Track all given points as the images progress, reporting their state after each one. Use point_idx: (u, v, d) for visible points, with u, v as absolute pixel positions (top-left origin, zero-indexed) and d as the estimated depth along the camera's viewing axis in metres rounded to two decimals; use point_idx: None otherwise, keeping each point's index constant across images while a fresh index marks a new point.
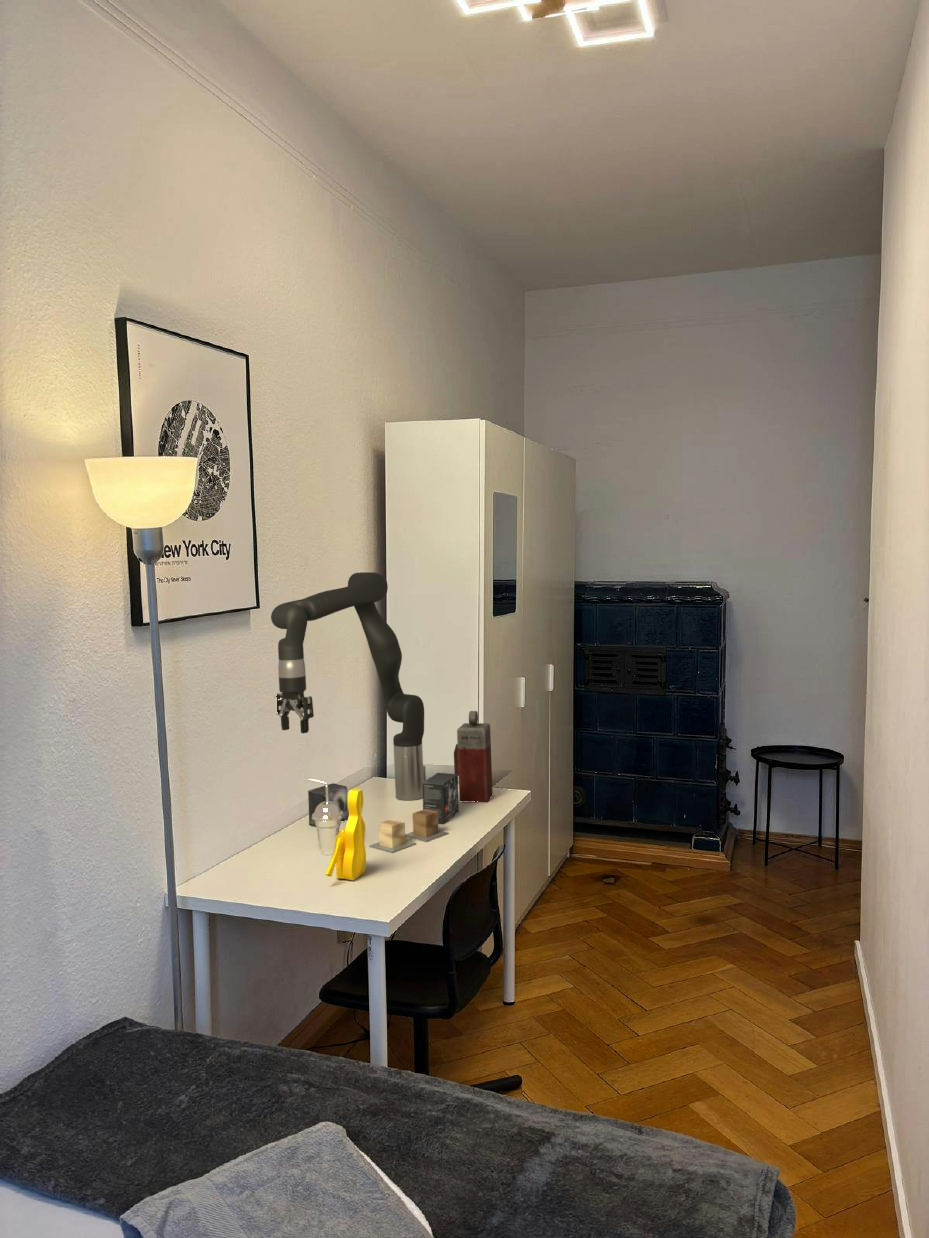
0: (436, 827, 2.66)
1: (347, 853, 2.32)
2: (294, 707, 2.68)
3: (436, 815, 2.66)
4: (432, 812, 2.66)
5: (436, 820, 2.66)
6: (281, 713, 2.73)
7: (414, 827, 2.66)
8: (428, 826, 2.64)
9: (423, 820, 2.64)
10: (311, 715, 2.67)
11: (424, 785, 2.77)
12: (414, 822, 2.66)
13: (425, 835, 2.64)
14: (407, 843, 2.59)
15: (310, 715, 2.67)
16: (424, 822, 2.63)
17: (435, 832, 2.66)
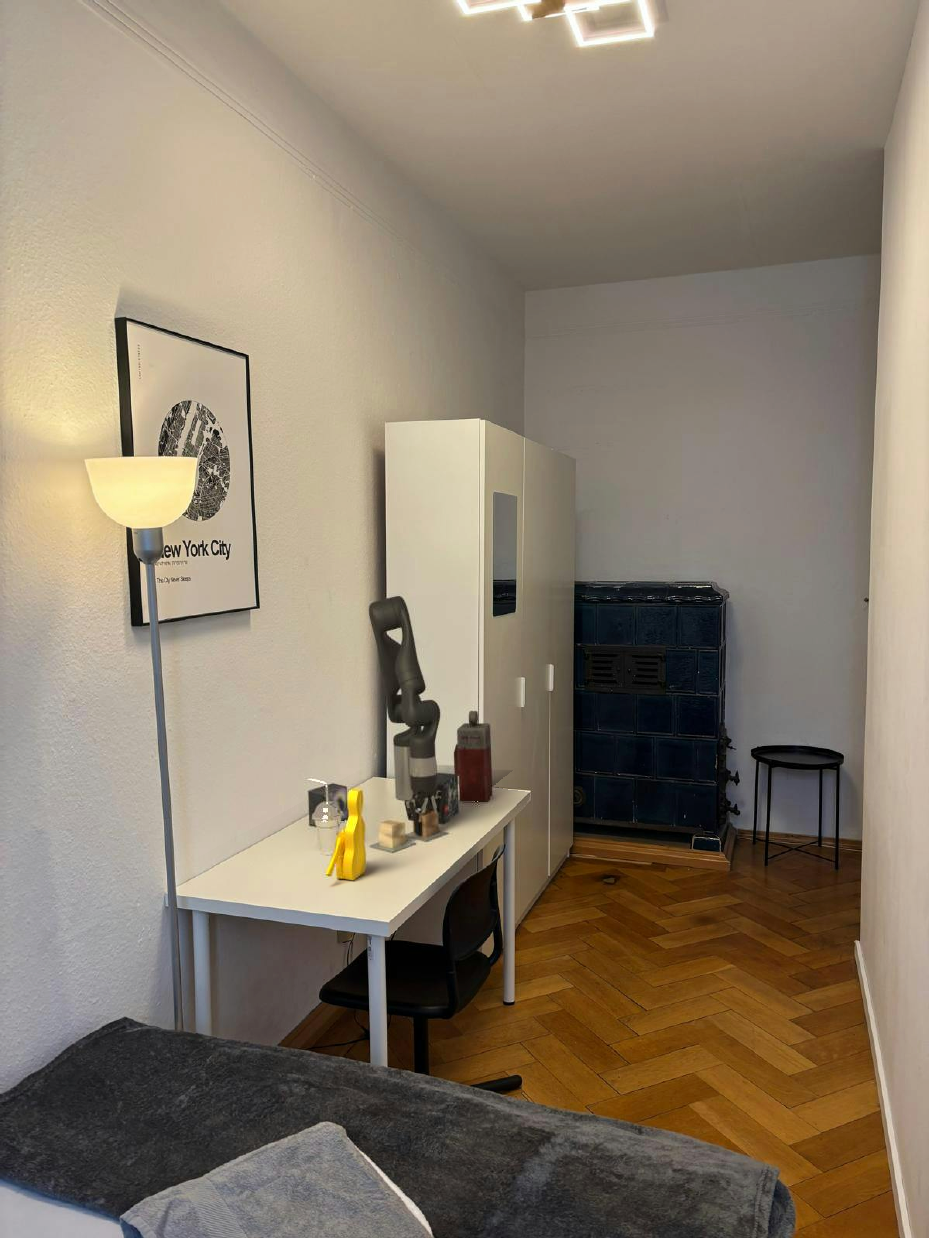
0: (436, 827, 2.66)
1: (347, 853, 2.32)
2: (434, 803, 2.67)
3: (436, 815, 2.66)
4: (432, 812, 2.66)
5: (436, 820, 2.66)
6: (421, 817, 2.64)
7: None
8: (428, 825, 2.64)
9: (423, 820, 2.64)
10: None
11: None
12: None
13: (425, 835, 2.64)
14: (407, 843, 2.59)
15: None
16: (424, 822, 2.63)
17: (435, 832, 2.66)
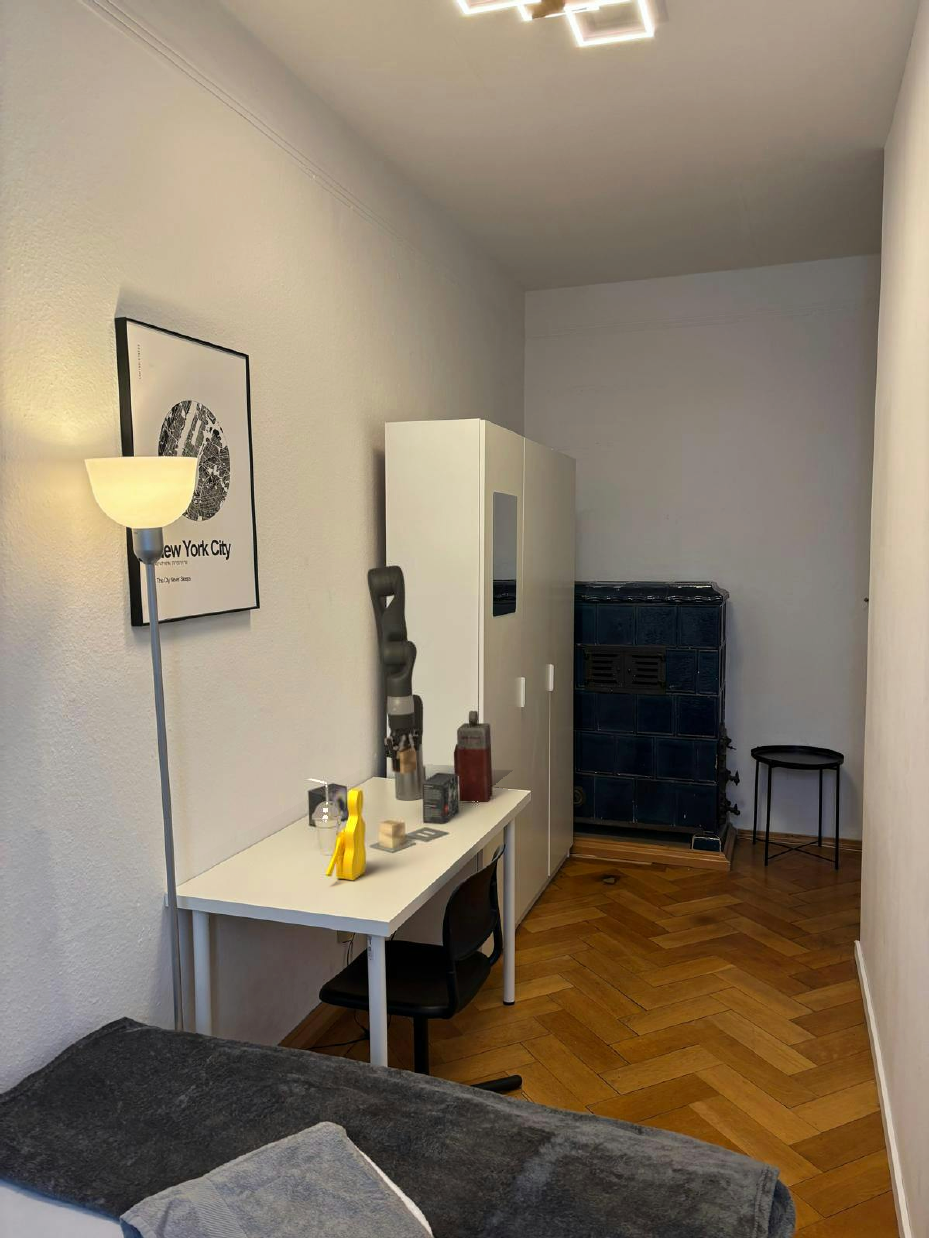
0: (414, 764, 2.74)
1: (347, 853, 2.32)
2: (411, 741, 2.74)
3: (413, 752, 2.74)
4: (410, 750, 2.74)
5: (413, 757, 2.74)
6: (399, 754, 2.71)
7: None
8: (406, 762, 2.72)
9: (401, 757, 2.71)
10: None
11: (424, 785, 2.77)
12: None
13: (403, 771, 2.71)
14: (407, 843, 2.59)
15: None
16: (402, 759, 2.71)
17: (413, 769, 2.74)
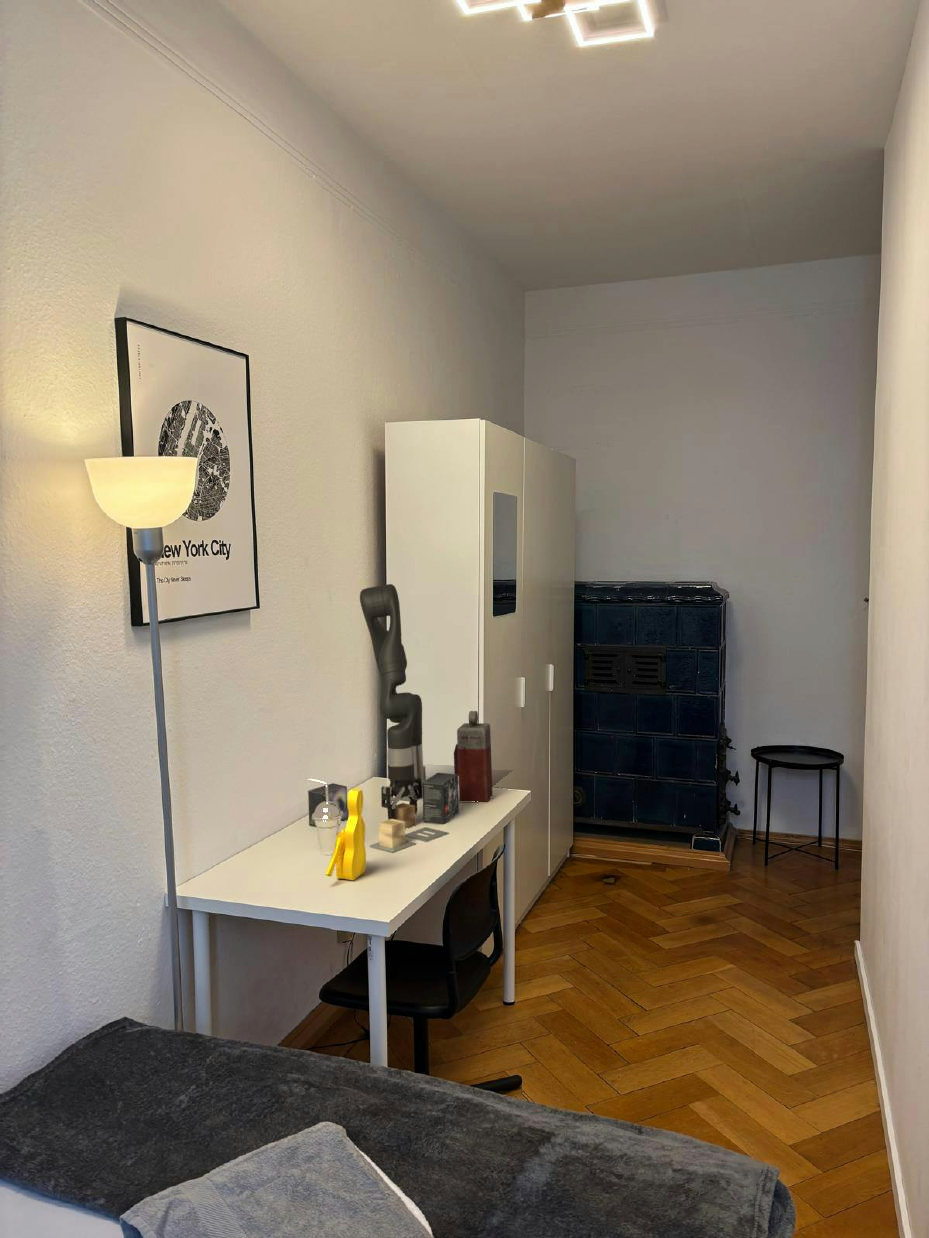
0: (413, 820, 2.75)
1: (347, 853, 2.32)
2: (412, 791, 2.76)
3: (413, 808, 2.75)
4: (409, 806, 2.75)
5: (413, 813, 2.75)
6: (394, 804, 2.71)
7: None
8: (405, 819, 2.73)
9: (401, 814, 2.72)
10: None
11: (424, 785, 2.77)
12: None
13: None
14: (407, 843, 2.59)
15: None
16: (401, 815, 2.72)
17: (412, 825, 2.75)
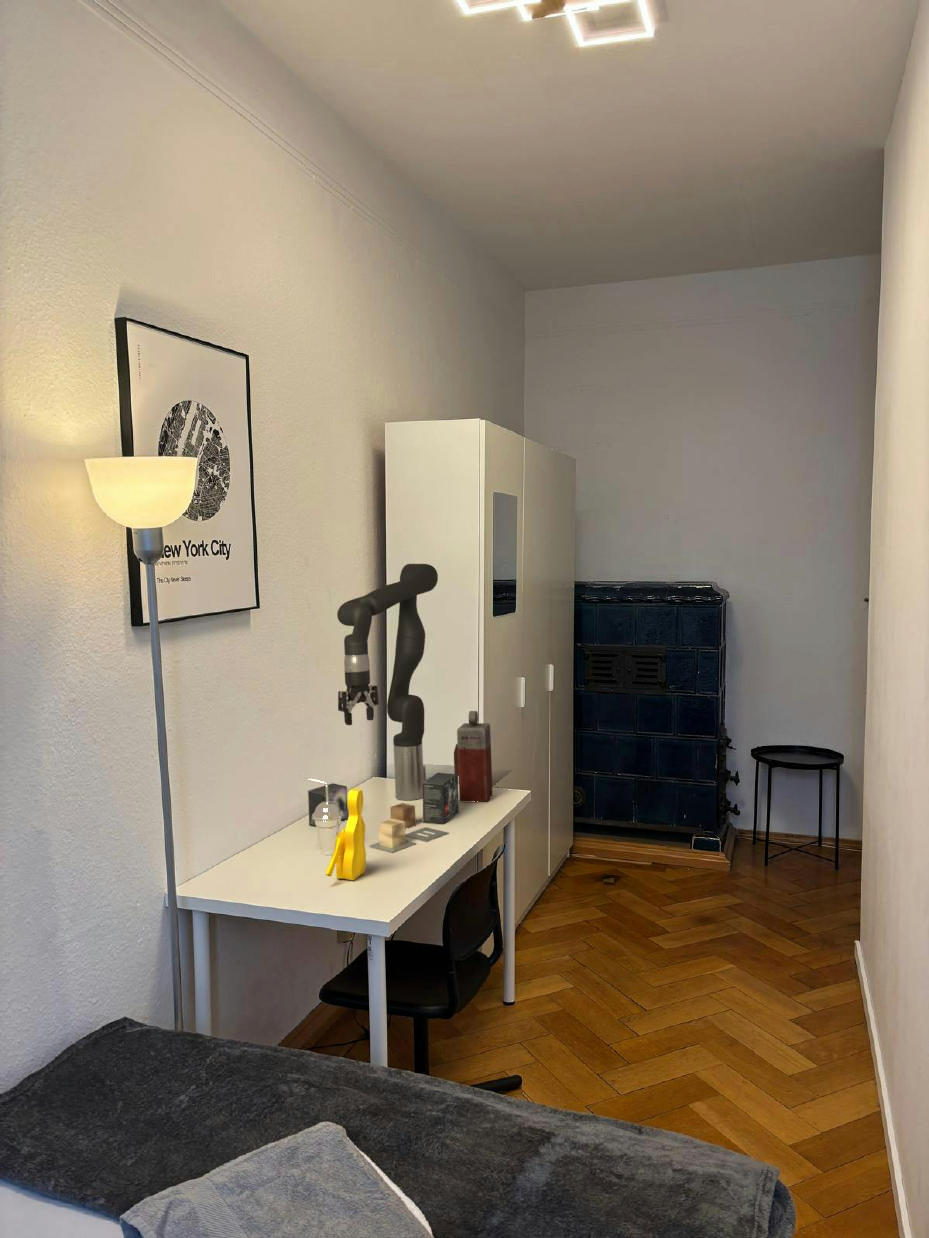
0: (413, 820, 2.75)
1: (347, 853, 2.32)
2: (368, 697, 2.88)
3: (413, 808, 2.75)
4: (409, 806, 2.75)
5: (413, 813, 2.75)
6: (351, 708, 2.83)
7: None
8: (405, 819, 2.73)
9: (401, 814, 2.72)
10: None
11: (424, 785, 2.77)
12: (392, 815, 2.75)
13: None
14: (407, 843, 2.59)
15: None
16: (401, 815, 2.72)
17: (412, 825, 2.75)
